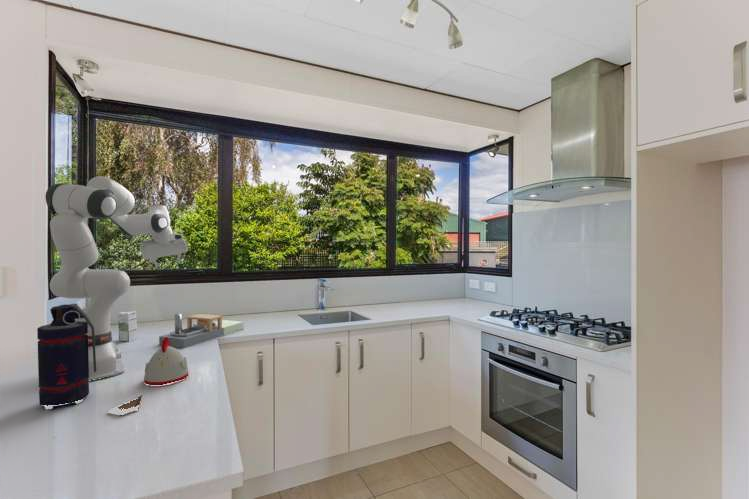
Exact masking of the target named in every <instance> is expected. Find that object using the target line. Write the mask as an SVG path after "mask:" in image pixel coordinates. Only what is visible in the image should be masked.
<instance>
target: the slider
mask: <svg viewBox="0 0 749 499" xmlns="http://www.w3.org/2000/svg"><path fill="white" fill-rule="evenodd" d="M182 316H183V315H182V313H175V314H174V330H173V331H172V332H171V331H170V333H169V334H170V335H177V336H188V335H192V334H195V333H199V332H202V331H206V330H208V328H206V325H198V324H196V323H194V324H193V323H192V327H189V328H183V319H182V318H183V317H182ZM214 322H215V321H212V329H213V328H216V327H218V325H216V323H214ZM191 329H200V330H197V331H193V332H190V333H186V334H185V333H182V332H184V331H187V330H191Z"/></svg>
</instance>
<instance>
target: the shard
mask: <svg viewBox="0 0 749 499" xmlns="http://www.w3.org/2000/svg"><path fill="white" fill-rule="evenodd" d="M137 397H138V399H136V400H133V401H130V403H127V404H123V405H122V406H120V407H118V408H119V409H121V408H122V409H123V408H124V409H128V408H131V407H133V406H134V407H136V406H137V405H139V404H140V405H141V403H140V401H141V402H142V397H143V395H142V394H141V395H140V396H137ZM122 409H121V410H122Z"/></svg>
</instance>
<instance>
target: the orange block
mask: <svg viewBox="0 0 749 499" xmlns="http://www.w3.org/2000/svg"><path fill="white" fill-rule="evenodd" d="M196 322H197V324H198V325H206V328H208V321H207V320H198V321H197V320H196Z"/></svg>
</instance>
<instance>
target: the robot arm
mask: <svg viewBox="0 0 749 499" xmlns="http://www.w3.org/2000/svg"><path fill="white" fill-rule="evenodd" d="M44 197H45V203H46V206H47V207H48V211H49V213H51V215H53V217H52V218H51V220H50V222H49V227H50V234H51V237H52V240H53V243H54V246H55V248H56V251H57V252H58V256H59V259H60V261H61V262H60V263H61V268H60V269H59V271H57V272H56V273H55V274H54V275H53V276H52V277H51V279H50V282H49V288H50V291H51V292H52V294H53V295H54V296H55V297H58V298H64V299H88V298H89V299H90V302H89V305H88V306H86V307H83V308H81V309H82V311H83V312H84V313H85V314H86V315H87V317H88V318H89V320H90V321H91V323H92V324H93V325H94V335H95V353H96V372H94V364H93V346H92V329H91V327H90V326H89V324H88V333H87V335H88V358H89V378H88V380H93V379H99V378H103V379H105V378H104V377H108V376H111V377H113V376H112V375H115V376H117V375H116V374H118V375H120V374H119V373H121V374H123V373H125V369H124V364H123V361H122V360H121V359H122V352H119V348H118V347H116V343H115V342H113V334H112V330H111V313H112V309H113V307H114V305H115V303H116V302H117V301H118V300H119V298H121V297H122V296H123V295H125V294H126V293H127V292H128V290H129V288H130V286H131V279H130V277H129V274H127V272H126V271H124V270H119V269H113V268H112V269H111V268H104V269H103V268H102V269H101V268H100V269H98V268H96V269H94V268H93V269H92V268H89V267H91V266H93V265H94V264H96V263H97V262H98V260H99V257H100V252H99V249H98V247H97V243H96V242H95V238H94V236H93V234H92V232H91V229H90V227H89V225H88V220H89V219H95V220H104V219H105V220H106V219H109V220H110V221H111V222H112V223H113V224H115V225H116V226H117V227H118V229H119V231H120V232H121V233H122V234H123V235H124V236H126V237H133V236H143V235H144V236H145V235H151V239H147V240H142V241H141V242H140V243H139V247H140V250H141V258H142V259H143V260H146V261H149V260H151V261H152V263H154V266H155V268H159V267H161V265H160V263H159V262H156V261H157V259H159V258H163V257H169V256H175V255H176V256H177V258H175V263H176V264H179V263H181V257H182V254H184V253H187V252H188V251H189V247H188V244H187V241H186V239H184V235H183V234H181V233H177V232H173V229H172V227H171V218H170V214H169V211H168V208H167V206H166V205H163V204H151V205H148V207H147V212H146V213H138V214H130V213H131V211H132V210H133V209H134V207H135V204H136V202H135V201H136V200H135V197H134V195H133V193H132V192H131V191H129V190H128V189H127V188H126V187H124V186H123V185H122V184H120V183H119V182H117V181H115V180H113V179H111V178H109V177H107V176H104V175H101V176H100V175H99V176H95V177H92V178H91V179H90V180H89V181H88V182H87V183H86V186H85V185H81V184H70V183H67V182H66V183H64V182H62V183H61V182H60V183H54V184H52V185H50V186H49V187H48V188H47V190H46V191H45V196H44ZM77 320H78V319H75V321H77ZM79 321H84V322H87V321H86V320H85V318H80V319H79ZM122 372H123V373H122ZM108 378H109V377H108ZM99 380H100V379H99Z"/></svg>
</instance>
